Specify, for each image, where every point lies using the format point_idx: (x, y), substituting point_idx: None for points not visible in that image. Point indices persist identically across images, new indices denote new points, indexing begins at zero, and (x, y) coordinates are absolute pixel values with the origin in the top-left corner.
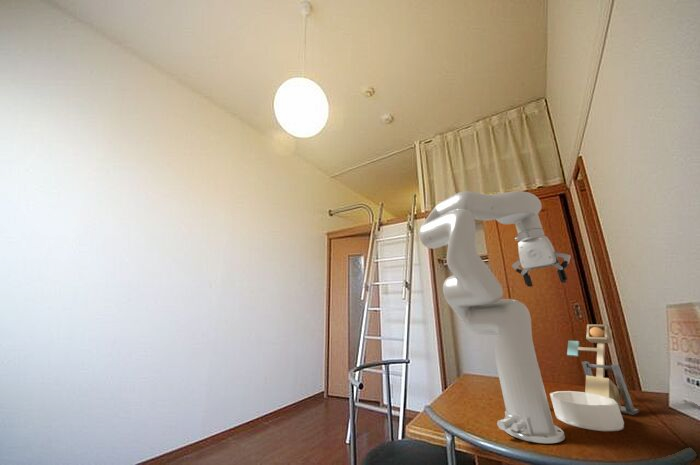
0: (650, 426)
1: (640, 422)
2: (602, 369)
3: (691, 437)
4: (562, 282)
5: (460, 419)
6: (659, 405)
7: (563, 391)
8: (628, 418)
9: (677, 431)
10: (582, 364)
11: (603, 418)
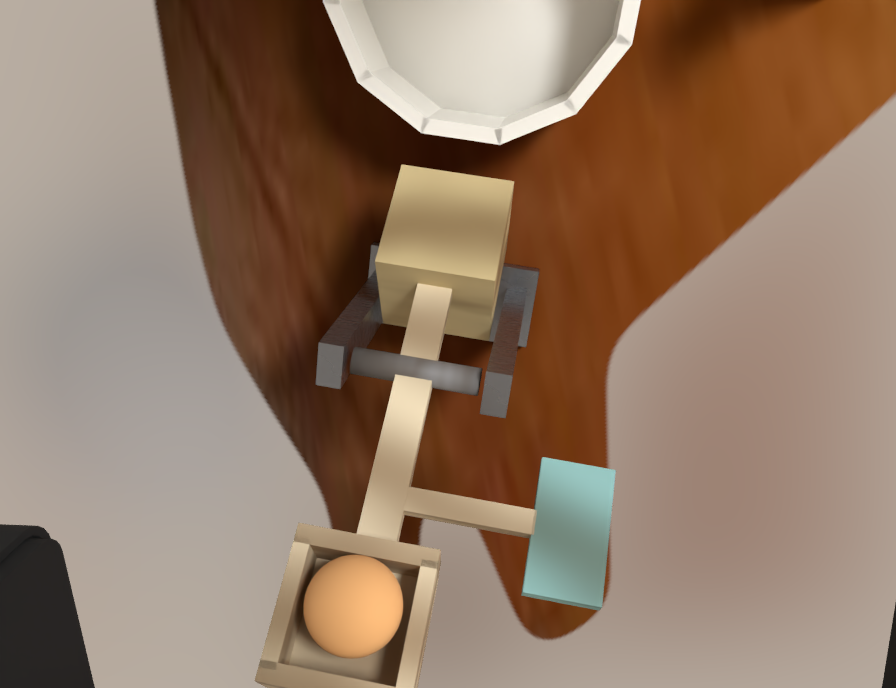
0: (293, 111)
1: (330, 144)
2: (406, 345)
3: (173, 72)
4: (35, 533)
5: None
6: (335, 482)
7: (598, 75)
8: (376, 172)
9: (217, 118)
10: (511, 369)
11: None
